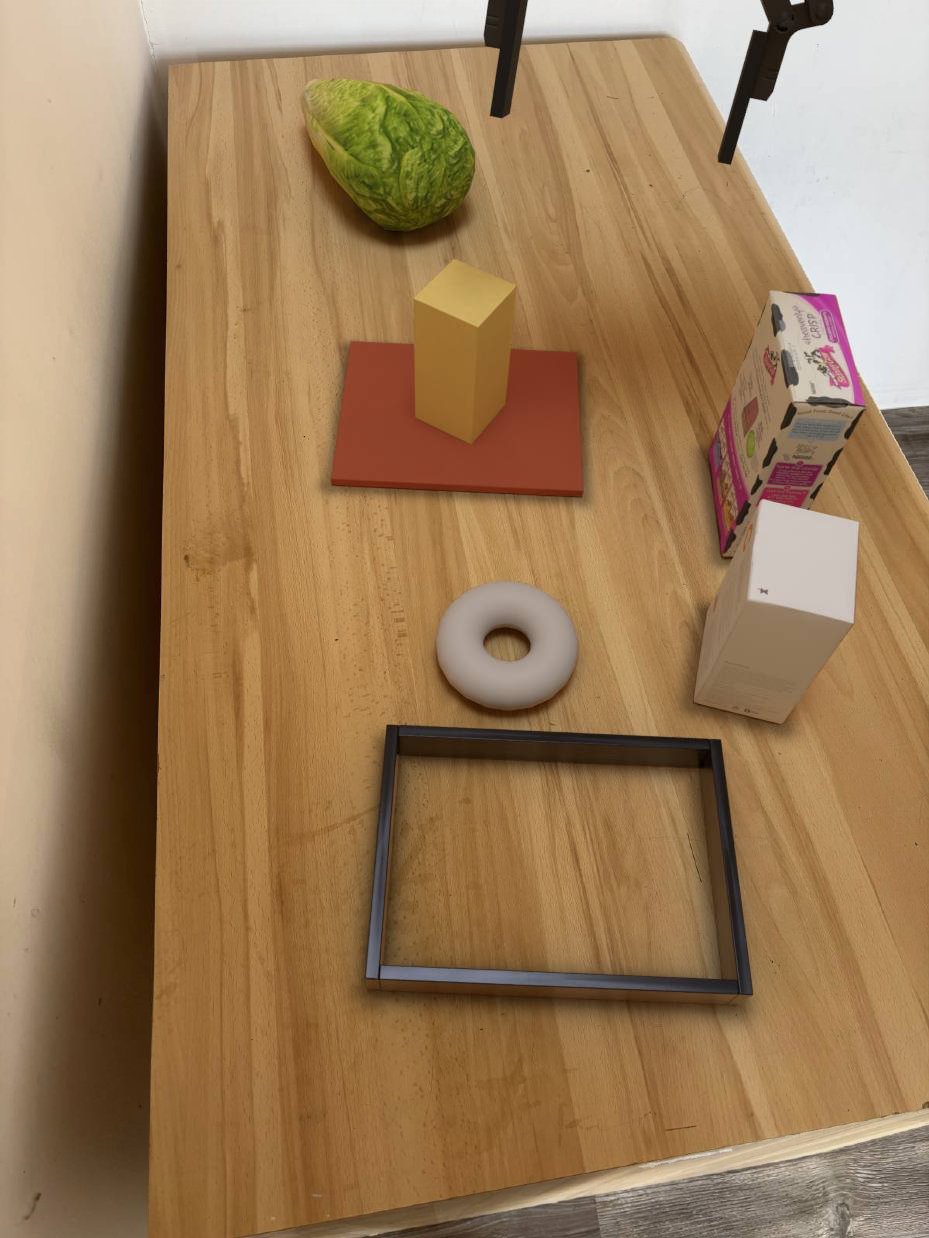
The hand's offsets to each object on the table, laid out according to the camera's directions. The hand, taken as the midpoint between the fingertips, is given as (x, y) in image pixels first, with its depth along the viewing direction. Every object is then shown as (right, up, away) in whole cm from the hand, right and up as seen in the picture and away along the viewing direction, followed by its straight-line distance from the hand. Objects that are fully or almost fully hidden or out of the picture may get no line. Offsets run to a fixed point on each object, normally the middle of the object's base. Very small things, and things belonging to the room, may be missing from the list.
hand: (610, 138), depth 55 cm
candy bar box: (+14, -20, +19) cm, 31 cm away
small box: (+11, -32, +11) cm, 36 cm away
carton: (-9, -11, +23) cm, 27 cm away
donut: (-6, -31, +11) cm, 34 cm away
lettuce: (-18, +16, +41) cm, 48 cm away
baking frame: (-3, -44, +3) cm, 44 cm away
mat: (-9, -12, +23) cm, 28 cm away
